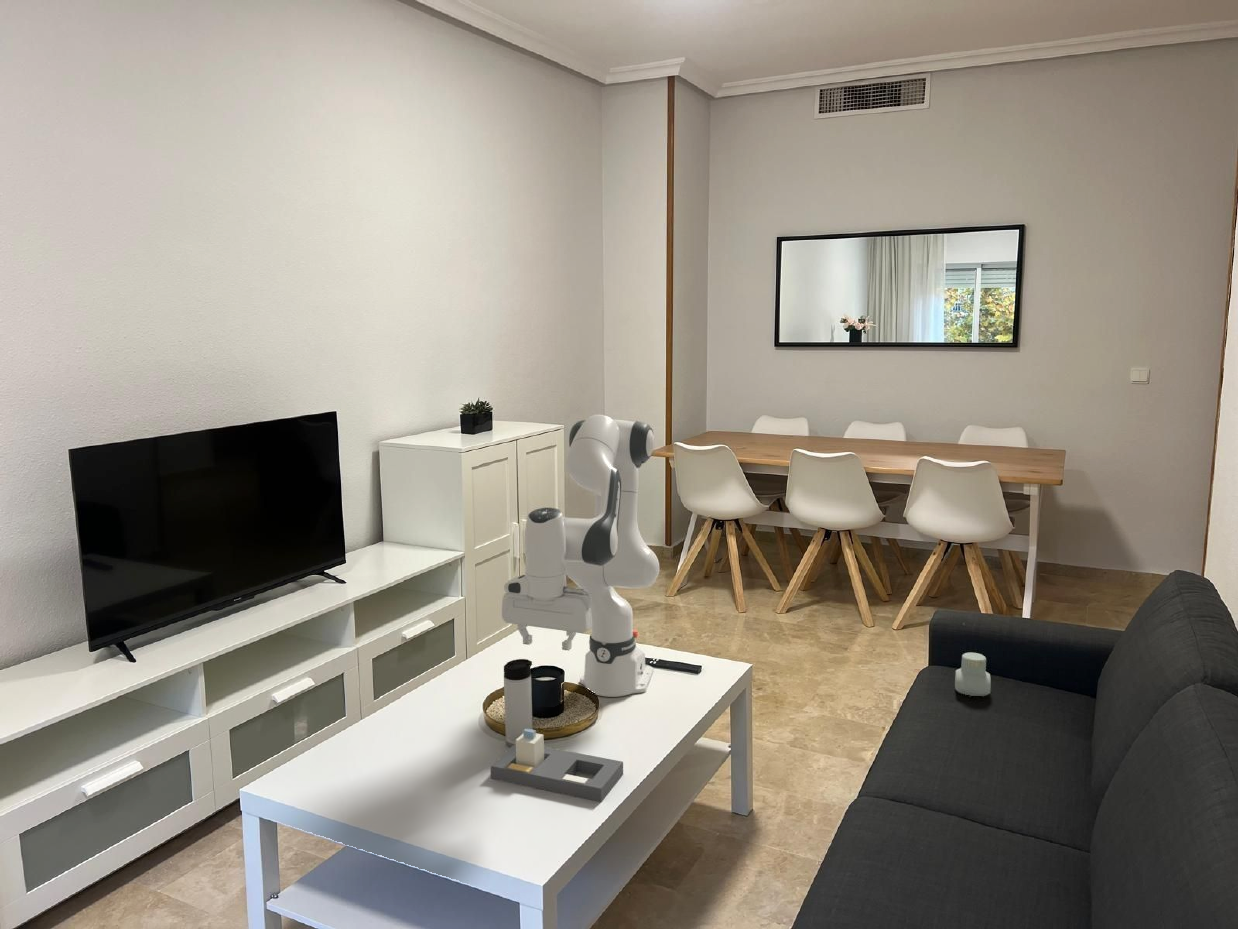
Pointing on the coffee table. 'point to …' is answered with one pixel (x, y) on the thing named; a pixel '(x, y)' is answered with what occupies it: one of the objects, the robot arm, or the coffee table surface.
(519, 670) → the travel mug
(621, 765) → the panel
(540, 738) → the plug
